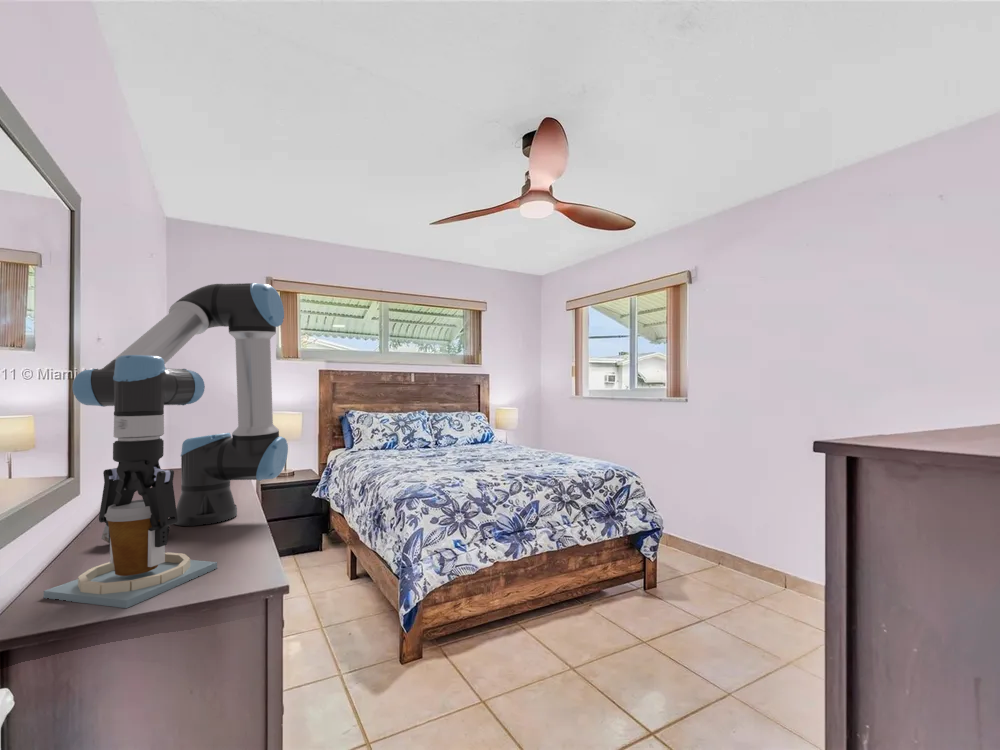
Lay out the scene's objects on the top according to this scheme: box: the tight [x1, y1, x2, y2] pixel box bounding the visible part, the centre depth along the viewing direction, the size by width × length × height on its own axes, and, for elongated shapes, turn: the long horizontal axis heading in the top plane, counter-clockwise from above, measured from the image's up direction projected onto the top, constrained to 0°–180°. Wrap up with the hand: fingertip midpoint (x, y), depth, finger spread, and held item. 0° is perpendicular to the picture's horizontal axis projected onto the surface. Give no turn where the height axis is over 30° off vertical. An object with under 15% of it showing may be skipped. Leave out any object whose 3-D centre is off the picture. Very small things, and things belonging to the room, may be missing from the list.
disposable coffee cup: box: [104, 498, 160, 576], centre depth 89 cm, size 10×10×12 cm
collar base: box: [42, 551, 218, 609], centre depth 89 cm, size 18×18×3 cm
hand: (137, 562), depth 89 cm, fingers closed on disposable coffee cup, 8 cm apart
